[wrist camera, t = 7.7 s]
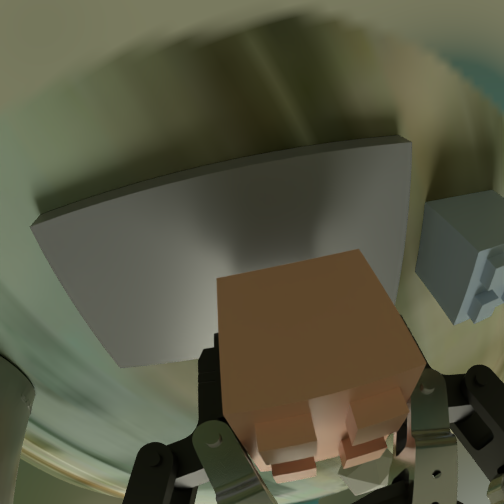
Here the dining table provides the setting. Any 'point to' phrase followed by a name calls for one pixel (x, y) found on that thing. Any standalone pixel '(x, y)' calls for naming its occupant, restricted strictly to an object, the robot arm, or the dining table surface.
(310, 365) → the brick terracotta
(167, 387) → the dining table surface
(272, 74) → the dining table surface
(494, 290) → the brick slate
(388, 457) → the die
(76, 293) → the baseplate
